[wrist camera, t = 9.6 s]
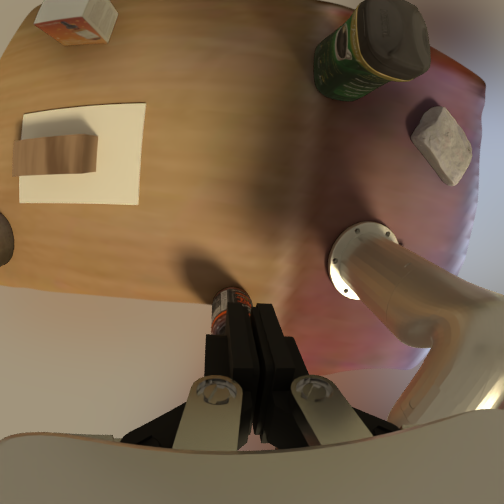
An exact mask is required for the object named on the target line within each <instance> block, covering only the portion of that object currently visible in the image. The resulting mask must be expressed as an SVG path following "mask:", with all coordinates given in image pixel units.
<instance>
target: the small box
mask: <svg viewBox="0 0 504 504" xmlns="http://www.w3.org/2000/svg"><path fill="white" fill-rule="evenodd" d="M117 17H118V13H117V11H116V10H115V8H114V7H113V5H112V4H111V2H110V1H109V0H44V1H43V3H42V5H41V8H40V10H39V12H38V14H37V17H36V19H35V22H34V25H35V26H37V27H38V28H40V29H41V30H42V31H44V32H45V33H47V34H48V35H50V36H51V37H53V38H54V39H55V40H57V41H58V42H60V43H61V44H62V45H64V46H70V45H81V44H107V43H108V42H109V39H110V36H111V33H112V30H113V27H114V25H115V22H116V19H117Z"/></svg>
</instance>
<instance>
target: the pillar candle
mask: <svg viewBox="0 0 504 504" xmlns="http://www.w3.org/2000/svg"><path fill="white" fill-rule="evenodd" d="M13 250H14V236H13V232H12V228H11V226H10V224H9V222H8V221H7V219H6V218H5V217H4V216H3V215H2V214H1V213H0V266H2V265H5V264H6V263H8V262H9V261H10V259H11V258H12V255H13Z"/></svg>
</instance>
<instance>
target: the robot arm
mask: <svg viewBox="0 0 504 504" xmlns="http://www.w3.org/2000/svg"><path fill="white" fill-rule="evenodd" d="M355 229H356V231H355ZM334 258H335V259H334ZM333 259H334V260H333ZM328 273H329V277H330V280H331V282H332V284H333V285H334V287H335V288H336V289H337V290H338V291H339V292H340V293H341V294H342V295H344V296H346V297H348V298H351V299H355V300H361V301H362V302H363V303H364V304H365V305H366V306H367V307H368V308H369V309H370V310H371V311H372V312H373V313H374V314H375V315H376V316H377V317H378V319H379V320H380V321H381V322H382V323H383V324H384V325H385V326H386V327H387V328H388V329H389V330H390V331H391V332H392V333H393V334H394V335H395V336H396V338H398V339H399V340H400V341H401V342H402V343H404V344H406V345H408V346H411V347H415V348H431V349H430V351H429V353H428V355H427V357H426V358H425V360H424V363H423V364H422V366H421V367H420V369H419V370H418V372H417V373H416V375H415V376H414V378H413V379H412V380H411V382H410V383H409V385H408V386H407V388H406V389H405V390H404V392H403V393H402V394H401V396H400V397H399V399H398V400H397V402H396V403H395V405H394V406H393V408H392V409H391V411H390V413H389V416H388V418H387V421H385V420H382V419H380V418H377V417H375V416H372V415H370V414H368V413H365V412H363V411H360V410H358V409H356V408H353V407H351V405H350V404H349V403H348V401H347V400H346V399H345V397H344V396H343V395H342V394H341V392H340V391H339V389H338V388H337V386H336V385H335V384H334V383H333V382H332V381H330V380H328V379H327V378H324V377H322V376H318V375H309V373H308V371H307V369H306V366H305V364H304V361H303V359H302V357H301V354H300V352H299V349H298V347H297V345H296V342H295V340H294V338H293V337H284V335H283V333H282V330H281V327H280V325H279V322H278V319H277V316H276V314H275V311H274V308H273V306H272V304H261V303H257V305H256V307H251V312H250V317H249V312H248V307H243V306H242V303H237V302H227V310H226V324H225V335H209V334H207V335H206V347H205V349H206V350H205V374H204V377H202V378H200V379H198V380H197V381H195V382H194V383H193V385H192V387H191V390H190V393H189V396H188V399H187V402H185V403H183V404H182V405H180V406H178V407H176V408H174V409H173V410H171V411H169V412H167V413H165V414H164V415H162V416H160V417H158V418H156V419H154V420H152V421H151V422H149V423H147V424H145V425H143V426H141V427H139V428H137V429H135V430H133V431H131V432H129V433H128V434H126V435H125V436H124V437H123V438H121V439H120V438H115V439H114V438H113V435H86V434H67V433H50V432H30V433H19V434H14V435H10V436H8V437H5V438H4V439H2V440H0V504H504V295H501V294H498V293H496V292H493V291H490V290H487V289H484V288H482V287H479V286H476V285H474V284H472V283H469V282H467V281H465V280H463V279H461V278H459V277H457V276H456V275H454V274H452V273H450V272H448V271H446V270H444V269H443V268H441V267H439V266H437V265H435V264H434V263H432V262H430V261H428V260H426V259H425V258H423V257H421V256H419V255H417V254H416V253H414V252H412V251H410V250H408V249H406V248H404V247H403V246H401V245H399V244H398V241H397V239H396V237H395V235H394V234H393V232H392V231H391V230H390V229H388V228H387V227H386V226H384V225H382V224H379V223H377V222H371V221H366V222H360V223H357V224H354V225H352V226H351V227H349V228H347V229H346V230H345V231H344V232H342V234H341V235H340V236H339V237H338V238H337V240H336V241H335V243H334V244H333V246H332V249H331V251H330V254H329V259H328ZM252 423H253V429H254V434H255V435H260V439H261V443H270V444H272V445H273V446H275V450H261V451H237V450H238V449H240V448H241V447H242V446H243V445H245V444H246V443H247V440H248V435H250V433H251V427H252Z"/></svg>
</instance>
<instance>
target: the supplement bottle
mask: <svg viewBox="0 0 504 504" xmlns="http://www.w3.org/2000/svg"><path fill="white" fill-rule="evenodd" d="M227 302H237V303H242V306H243V307H248V312H249V317H250V312H251V307H253V305H252V301H251V299H250V297H249V295H248V294H247V293H246V292H245V291H244V290H242V289H239V288H235V287H229V288H225V289H223V290H221V291H219V292H218V293H217V294H216V296H215V297H214V300H213V304H212V327H211V328H212V330H211V333H212V335H225V324H226V310H227Z"/></svg>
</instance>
